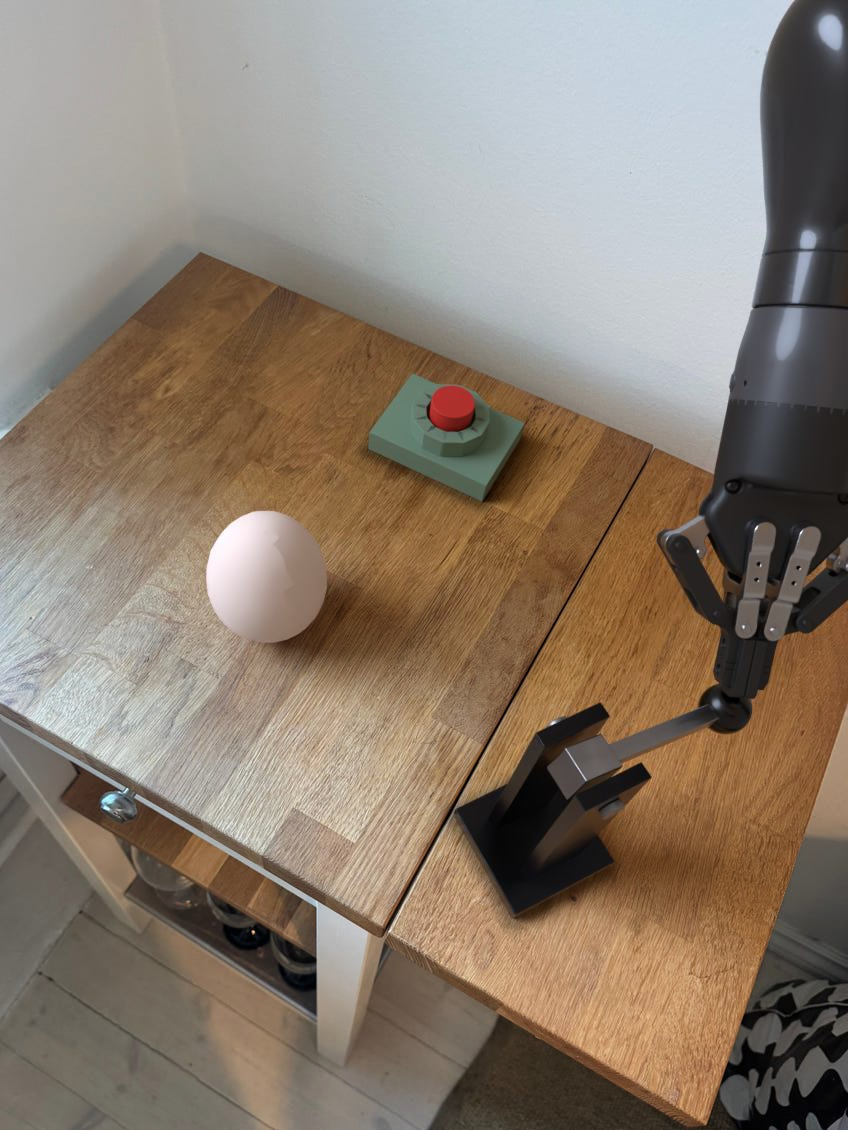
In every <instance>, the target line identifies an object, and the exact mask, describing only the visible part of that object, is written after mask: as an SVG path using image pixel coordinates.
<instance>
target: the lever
mask: <svg viewBox="0 0 848 1130" xmlns="http://www.w3.org/2000/svg"><path fill="white" fill-rule="evenodd" d="M753 709H754V708H753V702H752V699H748V698H736V697H729V696H728V695H727V694H725V693H724V692H723V691H722V690H721V689H720V684H719V683H716V684H712V685H711V686H709V687H707V688H706V689H705V690H704V691H703V692H702V694H701V695H700V697H699V699H698V702H697V708H695V709H693V710H689V711H688V712H686V713H682V714H681V715H678V716H675V717H673V718H670V719H668V720H665V721H663V722H661V723H658V724H655V725H653V726H650V727H648V728H645V729H643V730H641V731H638V732H636V733H634V734H630V735H629V736H625V737H623V738H621V739H619V740H616V741H613V742H611V743H609V742H608V741H607V740H606V738H605V737H604V735H603V734H602V733H598V734H597V735H596V736H594V737H591V738H589V739H586V740H584V741H581V742H579V743H576V744H574V745H571V746H569V747H566V748H565V749H564V750H563V751H562V752H561V753H560V754H559V755H558V756H557V757H556V758H555V759H554V760H553V761H552V762H551V763H550V764H549V765H548V767H547V769H548V770H549V772H550V774H551V775H552V777H553V778H554V780H555V782H556V783H557V785H558V786H559V788H560V790H561V791H562V793H563V794H564V796H565V797H566V799H567V800H569V799H571V798H574V796H575V795H577V794H579V793H581V792H583V791H585V790H587V789H589V788H591V787H593V786H595V785H597V784H599V783H601V782H603V781H605V780H607V779H609V778H611V777H613V776H615V775H616V774H617V773H618V772H619V771H620V770H621V769H622V768H623V767H624V766H623V764H624V763H626V762H629V761H632V760H634V759H637V758H638V757H640V756H644V755H645V754H648V753H650V752H653V751H654V750H657V749H660V748H662V747H665V746H667V745H669V744H671V743H673V742H674V743H675V742H677V741H678V740H681V739H683V738H686V737H688V736H690V735H693V734H695V733H698V732H699V731H702V730H704V729H708V730H710V731H711V732H713V733H716V734H718V735H733V734H736V733H738V732H740V731H742V730H744V729H745V727H746V726H747V725H748V724H749V723H750V721H751V720H752V716H753Z"/></svg>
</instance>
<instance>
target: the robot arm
mask: <svg viewBox="0 0 848 1130" xmlns="http://www.w3.org/2000/svg"><path fill="white" fill-rule="evenodd" d="M759 125H760V126H759V127H760V142H761V158H762V159H761V160H762V180H763V181H762V182H763V200H764V207H765V208H764V210H765V223H766V224H765V225H766V229H765V230H766V232H765V240H764V244H763V249H762V253H761V258H760V261H759V265H758V266H759V267H758V271H757V276H756V281H755V287H754V292H753V297H752V302H751V308H752V309H751V310H750V313H749V316H748V320H747V324H746V326H745V329H744V333H743V335H742V338H741V341H740V343H739V348H738V351H737V355H736V358H735V365H734V368H733V372H732V373H731V375H730V379H729V384H728V389H729V395H728V399H727V405H726V411H725V416H724V420H723V425H722V429H721V430H722V431H721V436H720V441H719V445H718V446H719V447H718V451H717V456H716V461H715V465H714V471H713V481H712V486H711V487H710V490H709V491H708V493H707V495H706V496H705V497H704V498H703V500H702V501H701V503H700V505H699V507H698V516H696V517H695V518H693V519H691V520H689V521H687V522H686V523H684V524H683V525H681V526H680V527H678V528H676V529H674V530H673V529H671V528H665V529H662V530H661V531H660V532H659V533H657V536H656V544H657V546H658V548H659V549H660V551H661V553H662V555H663V556H664V558H665V560H666V562H667V563H668V565H669V567H670V569H671V571H672V572H673V574H674V576H675V577H676V579H677V581H678V583H679V585H680V586H681V589H682V590H683V592H684V594H685V595H686V598H687V599H688V601H689V603H690V604H691V607H692V608H693V610H694V611H695V613H697V614H698V615H699V616H700V617H702V618H704V619H705V620H706V621H708V622H709V623H710V624H712V625H714V626H718V627H719V629H720V635H719V640H718V644H717V645H718V646H717V650H716V656H715V660H714V664H713V670H712V674H713V678H714V680H715V682H717V684H720V689H721V690H722V691H723V692H724V693H725V694H727V695H728V696H729V697H736V698H748V699H750V700H755V699H756V697H757V695H758V691H764V690H765V688H766V687H767V686H768V684H769V682H770V676H771V672H772V667H773V664H774V660H775V654H776V650H777V646H778V643H779V642H780V640H781V639H782V638H783V637H785V636H788V635H790V634H791V635H792V634H795V633H799V632H800V633H802V634H810V633H812V632H814V631H815V630H816V629H818V627H819V626H821V625H822V624H823V623H824V622H825V621H826V620H827V619H829V617H831V616H832V615H833V614H834V613H835V612H837V610H839V608H841V607H843V605H844V604H846V603H847V602H848V0H793V1H792V2H791V4H790V5H789V6H788V8H787V10H786V11H785V13H784V15H783V16H782V18H781V20H780V21H779V23H778V25H777V27H776V29H775V32H774V33H773V36H772V39H771V41H770V44H769V47H768V49H767V53H766V56H765V61H764V64H763V68H762V73H761V81H760V91H759ZM706 538H708V540H709V543H710V544H711V546H712V548H713V550H714V553H715V555H716V557H717V559H718V561H719V562H720V565H721V566H722V567H723V571H722V580H721V586H722V588H723V595H722V597H723V598H722V597H721V595H720V593H719V591H718V589H717V587H716V586H715V585H714V582H713V580H712V578H711V577H710V575H709V574H708V571H707V569H706V567H705V566H704V564H703V562H702V560H703V559H704V558H705V556H706V555H707V551H708V549H707V545H706ZM824 561H825V566H826V567H825V568H824V569H822V571H820V572H819V573H817V575H816V576H815V577H814V578H812V580H810V581H809V582H808V583H807V584H806V580H807V578H808V576H810V575H811V574H812V573H813V572H814V571H815V570H816V569H817V568H818V567H820V565H821V564H822V563H823V562H824ZM805 584H806V585H805Z"/></svg>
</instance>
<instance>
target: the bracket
mask: <svg viewBox="0 0 848 1130" xmlns="http://www.w3.org/2000/svg"><path fill="white" fill-rule="evenodd" d="M610 717H611V715H610V714H609V712H608V711H607V709H606V708H605V706H604V705H603V703H602V702H600V701H599V702H596V704H593V705H591V706H589V707H587V708H584V709H582V710H581V711H578V712H577V713H574V714H572V715H570V716H567V715H562V716H560V717H557V718H555V719H554V720H552V721H551V722H550V723H548V724H547V726H545V727H544V728H543V729H540V730H538V731H536V732H535V733H534V734H533V736H532V739H531V740H530V742H529V743H528V746H527V747H526V749H525V751H524V752H523V755H522V756H521V758H520V760H519V762H518V764H517V765H516V767H515V769H514V771H513V773H512V774H511V776H510V778H509V780H508V781H507V783H506V784H503V785H502V786H499V787H498V788H496V789H494V790H492V791H489V792H487V793H485V794H483V795H481V796H479V797H477V798H475V799H473V800H471V801H469V802H466V803H465V804H463V805H460V806H459V807H457V808H455V809H454V811H453V813H452V815H453V817H454V819H455V821H456V823H457V824H458V826H459V828H460V830H461V832H462V833H463V835H464V837H465V838H466V840H467V842H468V843H469V845H470V847H471V849H472V851H473V852H474V854H475V856H476V858H477V860H478V861H479V863H480V865H481V867H482V868H483V870H484V872H485V874H486V876H487V878H488V879H489V881H490V882H491V885H492V886H493V888H494V890H495V892H496V893H497V895H498V897H499V899H500V900H501V902H502V904H503V907H505V909H506V911H507V913H508V914H509V916H510V918H511V919H514V918H516V917H518V916H520V915H522V914H524V913H526V912H527V911H530V910H531V909H533V908H535V907H537V906H538V905H541V904H542V903H544V902H546V901H548V900H550V899H552V898H554V897H555V896H557V895H560V894H561V893H563V892H565V891H567V890H569V889H571V888H572V887H575V886H576V885H578V884H580V883H581V882H583V881H586V880H587V879H589V878H591V877H593V876H595V875H596V874H598V873H601V872H603V871H604V870H606V869H608V868H611V866H612V865H613V864H614V863H615V860H614V858H613V857H612V855H611V853H610V852H609V850H608V848H607V847H606V846H605V844H604V842H603V840H602V839H601V837H600V836H599V835H600V834H601V833H602V831H603V830H605V829H606V827H607V826H608V825H609V824H610V823H611V822H612V821H613V820H614V819H615V818H616V817H617V816H618V814H620V812H621V811H623V810H624V809H625V808H626V806H627V805H628V804H629V803H630V802H631V800H633V798H634V797H635V796H636V795H637V794H638V793H639V792H640V791H641V790H642V789H643V788H644V786H646V784H648V782H649V781H650V780H651V779H652V775H651V774H650V772H649V771H648V769H647V768H646V766H645V765H644V764H643V762H638V763H636V764H635V765H633V766H631V767H628V768H626V769H624V770H623V771H620V772H619V773H616V774H614V775H613V776H612V777H611V778H609V779H607V780H605V781H603V782H601V783H599V784H597V785H595V786H593V787H591V788H589V789H587V790H585V791H583V792H581V793H579V794H577V795H575V796H574V798H571V799H569V800H567V799H566V797H565V796H564V794H563V793H562V791H561V790H560V788H559V786H558V785H557V783H556V782H555V780H554V778H553V777H552V775H551V774H550V772H549V770H548V769H547V767H548V765H549V764H550V763H551V762H552V761H553V760H554V759H555V758H556V757H557V756H558V755H559V754H560V753H561V752H562V751H563V750H564V749H565V748H566V747H569V746H571V745H574V744H576V743H579V742H581V741H584V740H586V739H589V738H591V737H594V736H597V735H599V734H600V731H601V730H602V728H603V727H604V725H605V724H606V723H607V721H608V720H609V718H610Z"/></svg>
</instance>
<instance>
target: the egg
mask: <svg viewBox="0 0 848 1130" xmlns="http://www.w3.org/2000/svg"><path fill="white" fill-rule="evenodd" d="M209 551H210V552H209V556H208V561H207V564H206V578H205V581H206V588H207V595H208V599H209V601H210V604H211V606H212V609H213V611H214V612H215V614H216V616H217V617H218V619H219V620H220V621H221V622H222V623H223V625H224V626H225V627H226V628H227V629H229V630H230V631H231V632H233V633H234V634H236V635H238V636H239V637H241V638H244V639H245V640H248V641H252V642H256V643H259V644H262V643H263V644H273V643H279V642H283V641H287V640H289V639H291V638H294V637H295V636H298V635H300V633H302V632H303V631H305V630H306V629H307V628H308V627H309V626H310V625H311V624H312V623H313V621H314V620H315V619H316V618H317V616H318V614H319V612H320V610H321V609H322V606H323V604H324V603H325V598H326V595H327V594H326V593H327V587H328V574H327V564H326V561H325V558H324V555H323V552H322V549H321V546H320V545H319V543H318V541H317V540H316V539H315V538H314V536H313V535H312V534H311V533H310V532H309V531H308V529H307V528H306V527H305V526H303V524H301V522H299V521H297V520H296V519H294V518H293V517H291V516H289V515H287V514H284V513H281V512H278V511H275V510H255V511H251V512H249V513H246V514H244V515H241V516H239V517H238V518H237V519H235V520H233V521H232V522H231V523H229V524H228V525H227V526H226V527H225V529H223V531H222V532H221V533H220V534H219V536H218V537H217V539H216V541H215V542H214V544H213V546H212V547H211V549H210V550H209Z"/></svg>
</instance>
